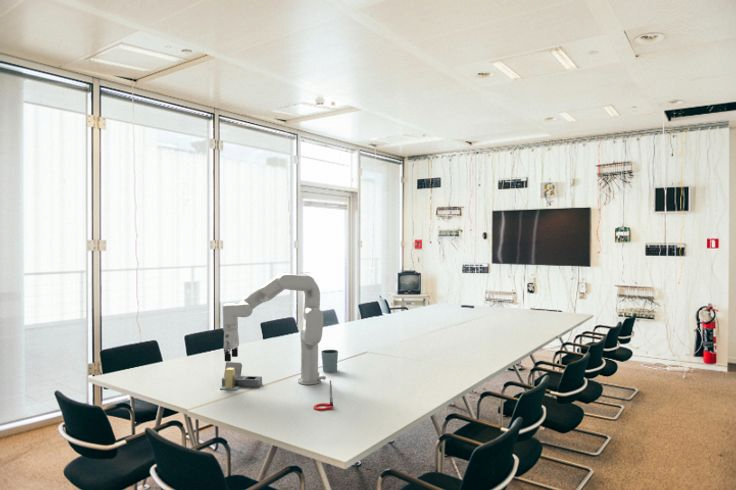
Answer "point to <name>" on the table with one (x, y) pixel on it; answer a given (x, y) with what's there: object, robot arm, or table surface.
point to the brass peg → (230, 378)
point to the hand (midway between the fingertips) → (231, 359)
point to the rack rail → (246, 381)
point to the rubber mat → (230, 389)
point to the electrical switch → (233, 365)
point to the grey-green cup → (329, 360)
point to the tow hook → (330, 405)
